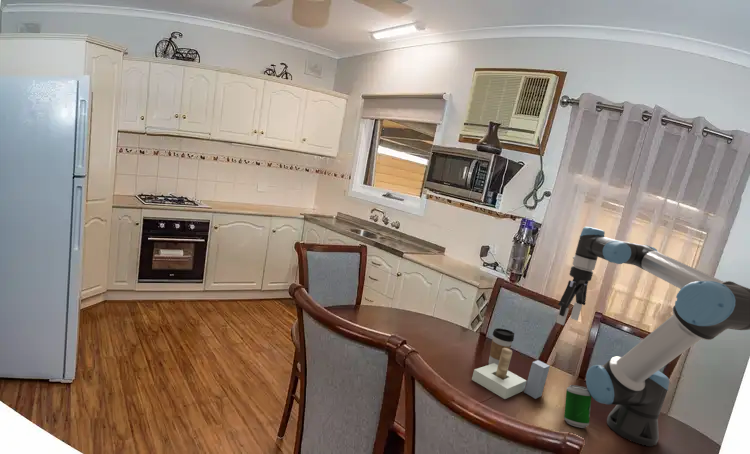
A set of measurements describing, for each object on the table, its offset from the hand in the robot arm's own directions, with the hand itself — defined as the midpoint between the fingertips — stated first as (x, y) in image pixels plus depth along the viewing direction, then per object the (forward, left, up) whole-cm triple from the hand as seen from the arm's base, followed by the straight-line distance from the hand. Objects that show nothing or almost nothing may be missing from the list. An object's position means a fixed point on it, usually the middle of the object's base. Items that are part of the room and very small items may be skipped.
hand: (567, 321), depth 165 cm
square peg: (0, +13, -27) cm, 30 cm away
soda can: (-18, +18, -27) cm, 37 cm away
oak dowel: (+10, +21, -27) cm, 36 cm away
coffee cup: (+20, +6, -27) cm, 34 cm away
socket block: (+10, +21, -27) cm, 36 cm away
